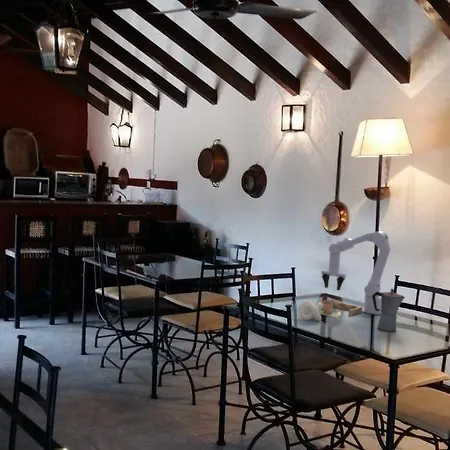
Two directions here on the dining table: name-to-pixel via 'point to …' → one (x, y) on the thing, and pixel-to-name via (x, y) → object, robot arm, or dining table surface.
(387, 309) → the moka pot
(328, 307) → the terracotta pot
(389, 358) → the dining table surface
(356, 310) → the tan wooden bent bar
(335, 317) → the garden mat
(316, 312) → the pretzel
